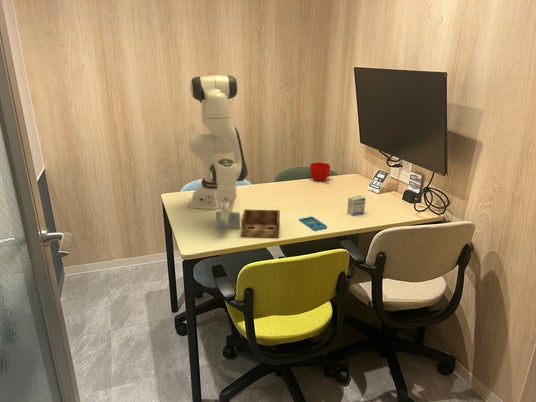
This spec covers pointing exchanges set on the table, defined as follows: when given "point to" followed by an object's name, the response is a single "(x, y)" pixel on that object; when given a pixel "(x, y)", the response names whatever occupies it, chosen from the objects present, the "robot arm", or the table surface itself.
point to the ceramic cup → (319, 171)
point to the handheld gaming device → (313, 223)
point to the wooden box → (261, 223)
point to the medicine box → (356, 205)
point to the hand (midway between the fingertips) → (227, 221)
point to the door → (233, 221)
